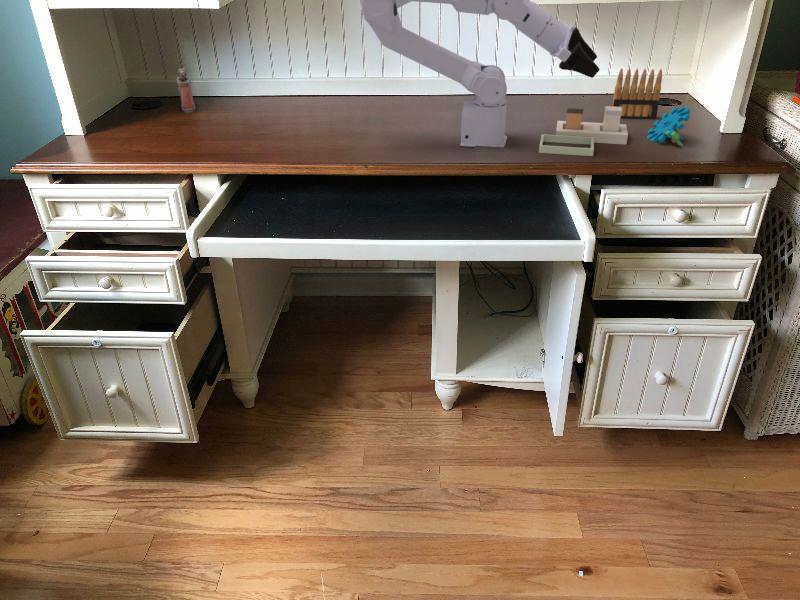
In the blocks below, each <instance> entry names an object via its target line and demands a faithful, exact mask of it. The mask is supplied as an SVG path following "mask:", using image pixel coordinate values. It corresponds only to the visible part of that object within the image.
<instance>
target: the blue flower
mask: <svg viewBox="0 0 800 600" xmlns="http://www.w3.org/2000/svg"><path fill="white" fill-rule="evenodd" d="M690 114H691V109H690V108H689V107H685V106H684V105H682V106H680V107H679V109H678V108H677V107H674V108H672V109H671V110H670V112H669V114H668V112H665V113H663V114H662V115H661V121H659V120H658V119H656V120H655V121H654V122H653V123H652V125H653V126H654V128H653V127H651V128H649V130H648V131H647V134H648V135H647V137H646V138H647V139H648V140H650V142H651V143H657V142H659V143H663V142H665V141H666V139H667V138H668V139H670V141H671V142H672V143H676V144H677V145H678V146H679V147H684V145H683V143H682V140H684V138H683V137H682V136H681V135H680V133H679V131H678V130H680V131H681V130H682V129H683V128H684V127H685V126H686V125H685V124H684V122H688V121H689V120H690V118H691V116H690ZM682 121H684V122H682Z"/></svg>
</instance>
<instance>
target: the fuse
mask: <svg viewBox="0 0 800 600" xmlns="http://www.w3.org/2000/svg"><path fill="white" fill-rule="evenodd" d="M621 115H622V107H620V106H619V107H614V106H612V105H608V106H607V105H606V106H604V114H603V121H602V123H603V127H602V131H607V132H618V130H619V124H621V123H620V122H621V119H620V118H621Z"/></svg>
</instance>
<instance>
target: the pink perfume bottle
mask: <svg viewBox="0 0 800 600" xmlns="http://www.w3.org/2000/svg"><path fill="white" fill-rule="evenodd" d="M187 75H188V74H187V71H186V69H185V68H178V77H177V78H176V85H178V87H177V89H178V93H179V97H180V101H181V109H182V111H183V113H193V112H195V110H196V105H195V104H196V103H194V98H193V93H192V91H193V90H192V87H191V86H192V85H191V78H190V77H189V76H187Z"/></svg>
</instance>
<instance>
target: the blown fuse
mask: <svg viewBox="0 0 800 600" xmlns="http://www.w3.org/2000/svg"><path fill="white" fill-rule="evenodd" d="M584 109H585V105H584V104H574V103H573V104H570V103H568V104H567V109H566V118H565V119H566V120H565V121H566V126H565V129H572V130H580V128H581V122H582V118H583V114H584Z"/></svg>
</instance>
